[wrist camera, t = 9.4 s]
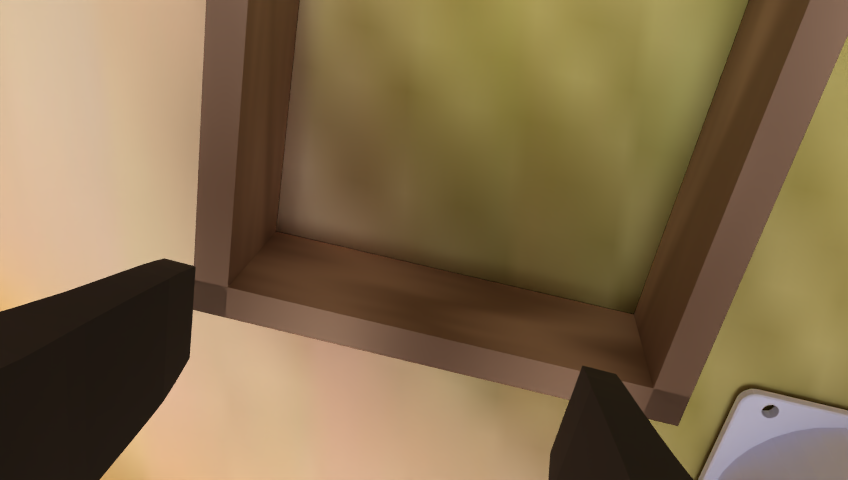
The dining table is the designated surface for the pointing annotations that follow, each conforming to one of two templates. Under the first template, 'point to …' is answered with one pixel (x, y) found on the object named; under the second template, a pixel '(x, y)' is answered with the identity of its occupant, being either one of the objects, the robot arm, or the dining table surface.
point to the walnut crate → (484, 300)
